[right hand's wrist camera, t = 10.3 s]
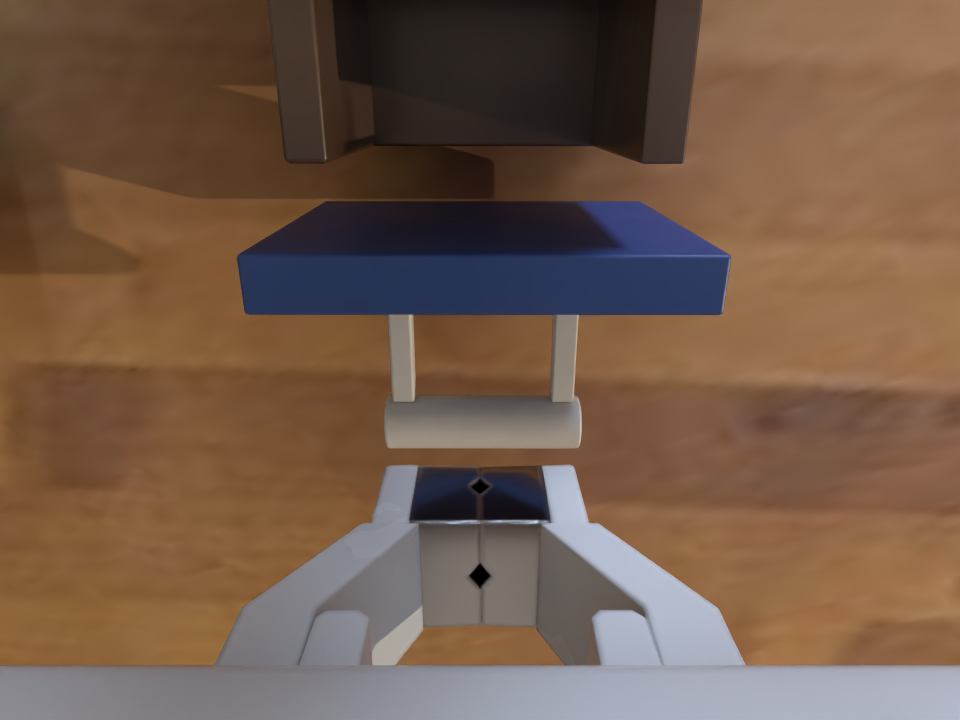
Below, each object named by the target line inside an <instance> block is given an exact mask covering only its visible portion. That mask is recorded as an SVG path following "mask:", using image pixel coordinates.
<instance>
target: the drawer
mask: <svg viewBox="0 0 960 720" xmlns="http://www.w3.org/2000/svg"><path fill="white" fill-rule="evenodd" d="M267 1H268V10H269V20H270V29H271V38H272V47H273V57H274V66H275V75H276V84H277V94H278V103H279V112H280V121H281V131H282V140H283V149H284V158H285V160H286V162H288V163H326V162H329V161H331V160H334V159H337V158H340V157H343V156H345V155H348V154H351V153H354V152H357V151H360V150H362V149H365V148H368V147H371V146H594V147H597V148H599V149H602V150H605V151H608V152H611V153H614V154H617V155H620V156H623V157H626V158H628V159H631V160H634V161H637V162H640V163H643V164H682V163H684V161H685V152H686V143H687V135H688V126H689V117H690V108H691V99H692V91H693V82H694V73H695V64H696V56H697V47H698V38H699V29H700V21H701V12H702V3H703V0H267ZM237 261H238V268H239V275H240V282H241V289H242V296H243V303H244V310H245V313H246V314H249V315H388V328H389V346H390V364H391V382H392V396H388V398H387V400H386V405H385V414H384V434H385V442H386V445H387V447H388V448H578V447H579V445H580V441H581V432H582V416H581V406H580V401H579V398H578V397H577V396H574V384H575V367H576V351H577V334H578V317H579V315H720V314H722V313H723V311H724V304H725V297H726V290H727V284H728V277H729V270H730V263H731V256H730V255H729V254H728V253H726V252H724V251H722V250H721V249H719V248H717V247H716V246H714V245H712V244H711V243H709V242H707V241H706V240H704V239H702V238H701V237H699V236H697V235H695V234H694V233H692V232H690V231H689V230H687V229H685V228H684V227H682V226H680V225H679V224H677V223H675V222H673V221H672V220H670V219H668V218H667V217H665V216H663V215H662V214H660V213H658V212H657V211H655V210H653V209H652V208H650V207H648V206H646V205H645V204H643V203H641V202H593V201H326V202H324V203H323V204H321V205H319V206H318V207H316V208H314V209H313V210H311V211H309V212H308V213H306V214H304V215H303V216H301V217H300V218H298V219H296V220H295V221H293V222H291V223H290V224H288V225H286V226H285V227H283V228H281V229H280V230H278V231H276V232H275V233H273V234H271V235H270V236H268V237H267V238H265V239H263V240H262V241H260V242H258V243H257V244H255V245H253V246H252V247H250V248H248V249H247V250H245V251H243V252H242V253H240V254H238V257H237ZM413 315H553V326H552V348H551V370H550V396H415V395H416V376H415V351H414V326H413Z"/></svg>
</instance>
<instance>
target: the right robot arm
mask: <svg viewBox="0 0 960 720" xmlns="http://www.w3.org/2000/svg"><path fill="white" fill-rule="evenodd" d="M478 625H480V626H517V627H537V631H538V632H539V633H540V634H541V636H542V637H543V638H544V639H545V641H546V642H547V643H548V644H549V646H550V647H551V648H552V649H553V651H554V652H555V653H556V655H557V656H558V657H559V658H560V660H561V661H562V662H563V663H564V665H396V664H397V663H398V661H399V660H400V659H401V658H402V656H403V655H404V654H405V653H406V651H407V650H408V649H409V648H410V646H411V645H412V644H413V642H414V641H415V640H416V639H417V637H418V636H419V635H420V634H421V632H422V631H423V627H442V626H478ZM0 720H960V665H745V663H744V661H743V659H742V657H741V655H740V653H739V651H738V649H737V646H736V644H735V642H734V640H733V638H732V636H731V634H730V632H729V630H728V628H727V625H726V623H725V621H724V619H723V617H722V615H721V613H720V611H719V609H718V608H717V607H716V606H714V605H713V604H711V603H710V602H709V601H707V600H706V599H704V598H703V597H702V596H700V595H699V594H697V593H696V592H695V591H693V590H692V589H690V588H689V587H687V586H686V585H685V584H683V583H682V582H680V581H679V580H678V579H676V578H675V577H673V576H672V575H671V574H669V573H668V572H666V571H665V570H663V569H662V568H661V567H659V566H658V565H656V564H655V563H654V562H652V561H651V560H649V559H648V558H646V557H645V556H644V555H642V554H641V553H639V552H638V551H637V550H635V549H634V548H632V547H631V546H630V545H628V544H627V543H625V542H624V541H622V540H621V539H620V538H618V537H617V536H615V535H614V534H613V533H611V532H610V531H608V530H607V529H606V528H604V527H603V526H601V525H600V524H598V523H589V520H588V517H587V513H586V509H585V506H584V502H583V498H582V494H581V491H580V487H579V483H578V480H577V476H576V472H575V469H574V467H573V466H572V465H551V466H509V467H477V466H425V465H420V466H418V465H389V466H388V467H387V468H386V469H385V471H384V475H383V479H382V483H381V487H380V490H379V494H378V498H377V502H376V505H375V509H374V513H373V517H372V520H371V523H362V524H360V525H359V526H357V527H356V528H355V529H353V530H352V531H350V532H349V533H347V534H346V535H345V536H343V537H342V538H340V539H339V540H337V541H336V542H335V543H333V544H332V545H330V546H329V547H328V548H326V549H325V550H323V551H322V552H320V553H319V554H318V555H316V556H315V557H313V558H312V559H310V560H309V561H308V562H306V563H305V564H303V565H302V566H301V567H299V568H298V569H296V570H295V571H293V572H292V573H291V574H289V575H288V576H286V577H285V578H284V579H282V580H281V581H279V582H278V583H276V584H275V585H274V586H272V587H271V588H269V589H268V590H266V591H265V592H264V593H262V594H261V595H259V596H258V597H257V598H255V599H254V600H252V601H251V602H249V603H248V604H247V605H245V606H244V607H242V609H241V611H240V613H239V616H238V618H237V620H236V622H235V624H234V626H233V628H232V630H231V632H230V634H229V636H228V638H227V640H226V642H225V645H224V647H223V649H222V651H221V653H220V655H219V657H218V659H217V661H216V663H215V665H0Z"/></svg>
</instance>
